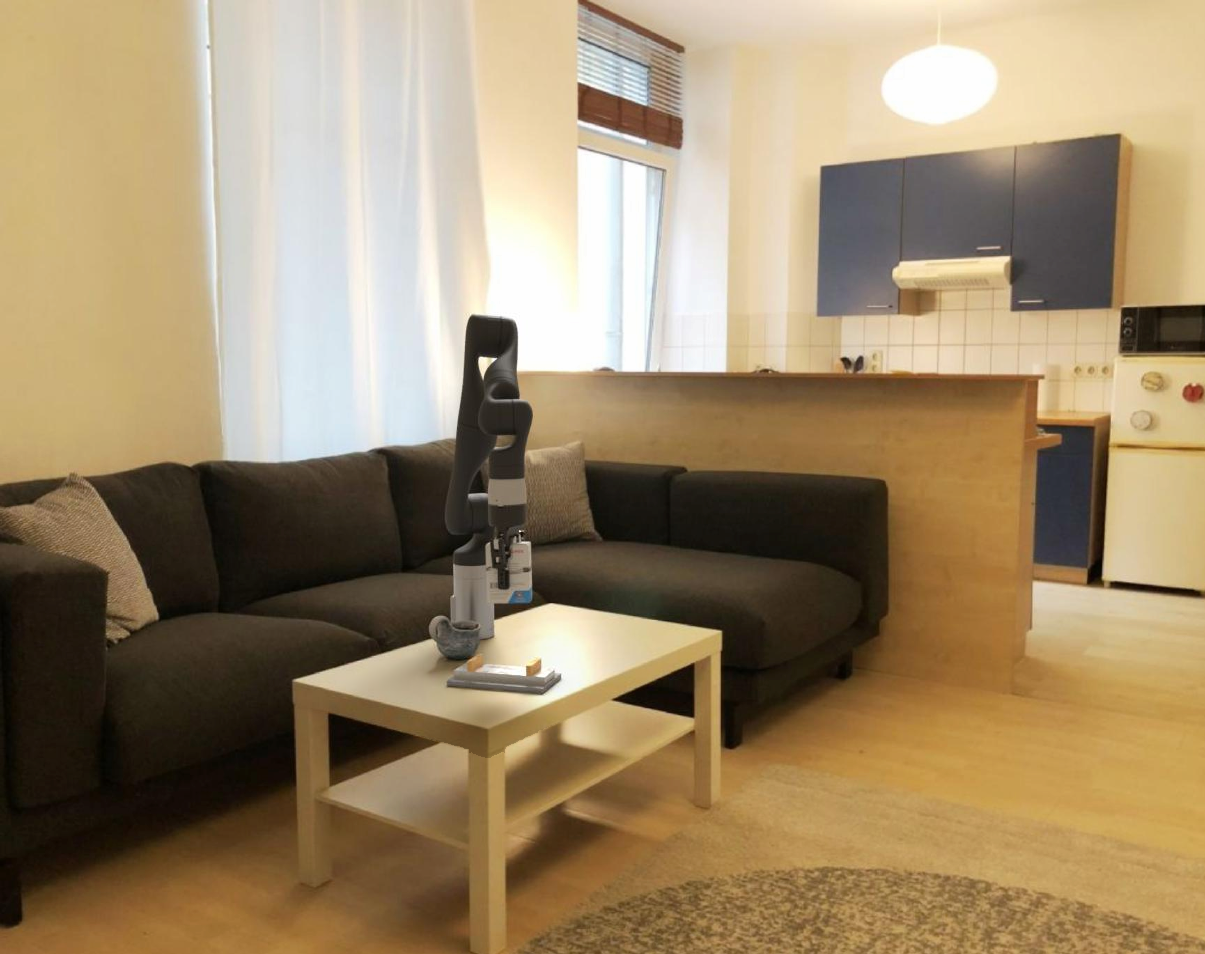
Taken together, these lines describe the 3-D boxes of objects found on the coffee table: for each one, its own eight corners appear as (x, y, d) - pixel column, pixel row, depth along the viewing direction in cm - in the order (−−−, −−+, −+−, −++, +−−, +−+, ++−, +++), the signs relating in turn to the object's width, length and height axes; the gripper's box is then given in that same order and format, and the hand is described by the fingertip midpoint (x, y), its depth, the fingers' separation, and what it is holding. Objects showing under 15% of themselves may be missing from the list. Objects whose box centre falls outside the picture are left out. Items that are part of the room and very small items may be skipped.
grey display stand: (446, 685, 218) (446, 663, 218) (469, 671, 229) (468, 649, 228) (542, 693, 212) (542, 670, 212) (561, 678, 223) (561, 656, 222)
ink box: (533, 598, 222) (532, 540, 221) (529, 603, 217) (528, 543, 216) (490, 598, 223) (489, 540, 222) (486, 603, 218) (485, 544, 217)
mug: (490, 654, 242) (489, 609, 241) (456, 668, 231) (455, 621, 230) (453, 649, 246) (452, 605, 245) (418, 662, 235) (417, 616, 235)
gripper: (502, 497, 226) (504, 579, 227) (475, 504, 212) (477, 592, 214) (537, 497, 224) (538, 580, 225) (512, 505, 210) (514, 593, 212)
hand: (509, 586), depth 219 cm, fingers closed on ink box, 5 cm apart
